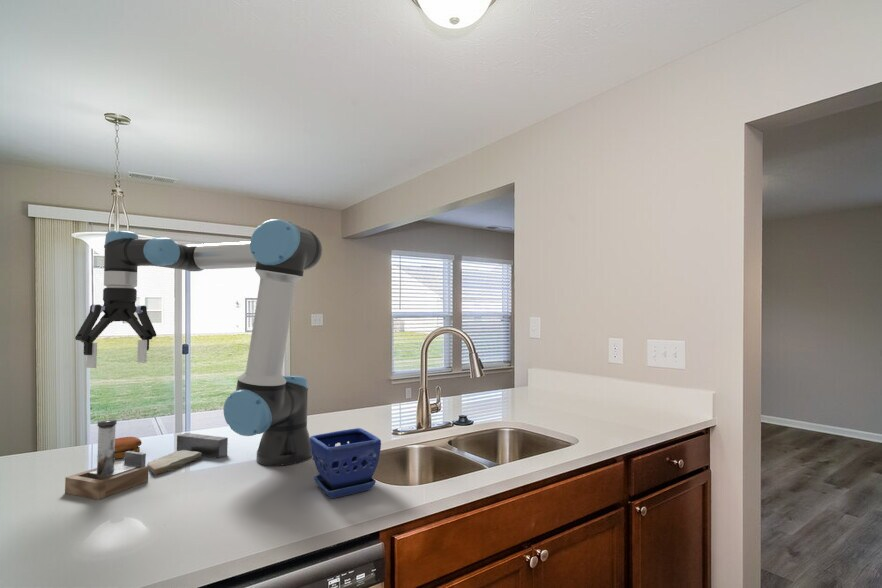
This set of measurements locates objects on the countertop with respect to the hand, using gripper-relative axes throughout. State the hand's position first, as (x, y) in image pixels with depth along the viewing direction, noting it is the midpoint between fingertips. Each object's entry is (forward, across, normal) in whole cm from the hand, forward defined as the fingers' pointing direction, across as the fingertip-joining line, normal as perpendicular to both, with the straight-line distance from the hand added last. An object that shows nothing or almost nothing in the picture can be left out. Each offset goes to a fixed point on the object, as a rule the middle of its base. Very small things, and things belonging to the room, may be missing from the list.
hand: (117, 365), depth 122 cm
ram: (+26, +10, +15) cm, 31 cm away
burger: (+27, -6, -7) cm, 29 cm away
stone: (+27, -6, +16) cm, 32 cm away
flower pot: (+27, -6, +68) cm, 73 cm away
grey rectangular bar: (+27, -14, +15) cm, 34 cm away
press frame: (+27, +11, +15) cm, 33 cm away
